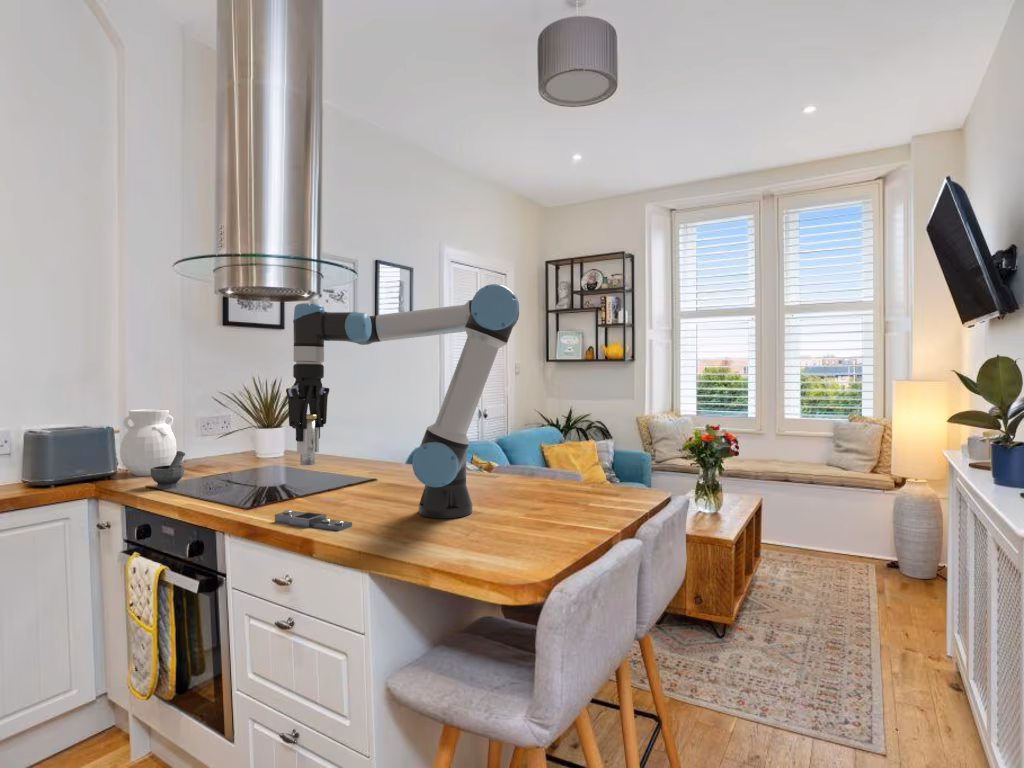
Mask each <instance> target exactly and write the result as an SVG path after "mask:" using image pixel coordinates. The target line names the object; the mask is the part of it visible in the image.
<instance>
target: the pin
mask: <svg viewBox="0 0 1024 768" xmlns="http://www.w3.org/2000/svg"><path fill="white" fill-rule="evenodd" d="M315 419H317V414H310V413H307V416H306V423H305V428H304V429H307V454H300V457H299V458H300V462H299V463H300V465H301V466H314V465H316V452H315Z"/></svg>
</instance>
